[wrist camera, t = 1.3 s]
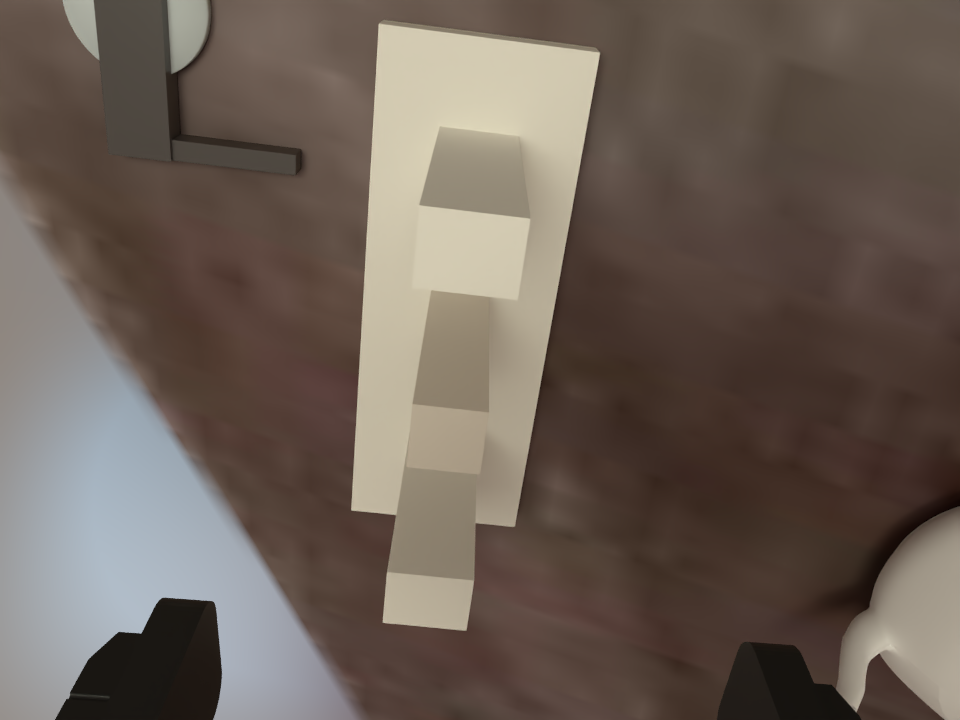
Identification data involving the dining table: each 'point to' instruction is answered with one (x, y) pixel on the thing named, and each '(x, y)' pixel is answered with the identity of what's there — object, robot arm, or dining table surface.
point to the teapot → (913, 620)
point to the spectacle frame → (158, 82)
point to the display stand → (459, 291)
